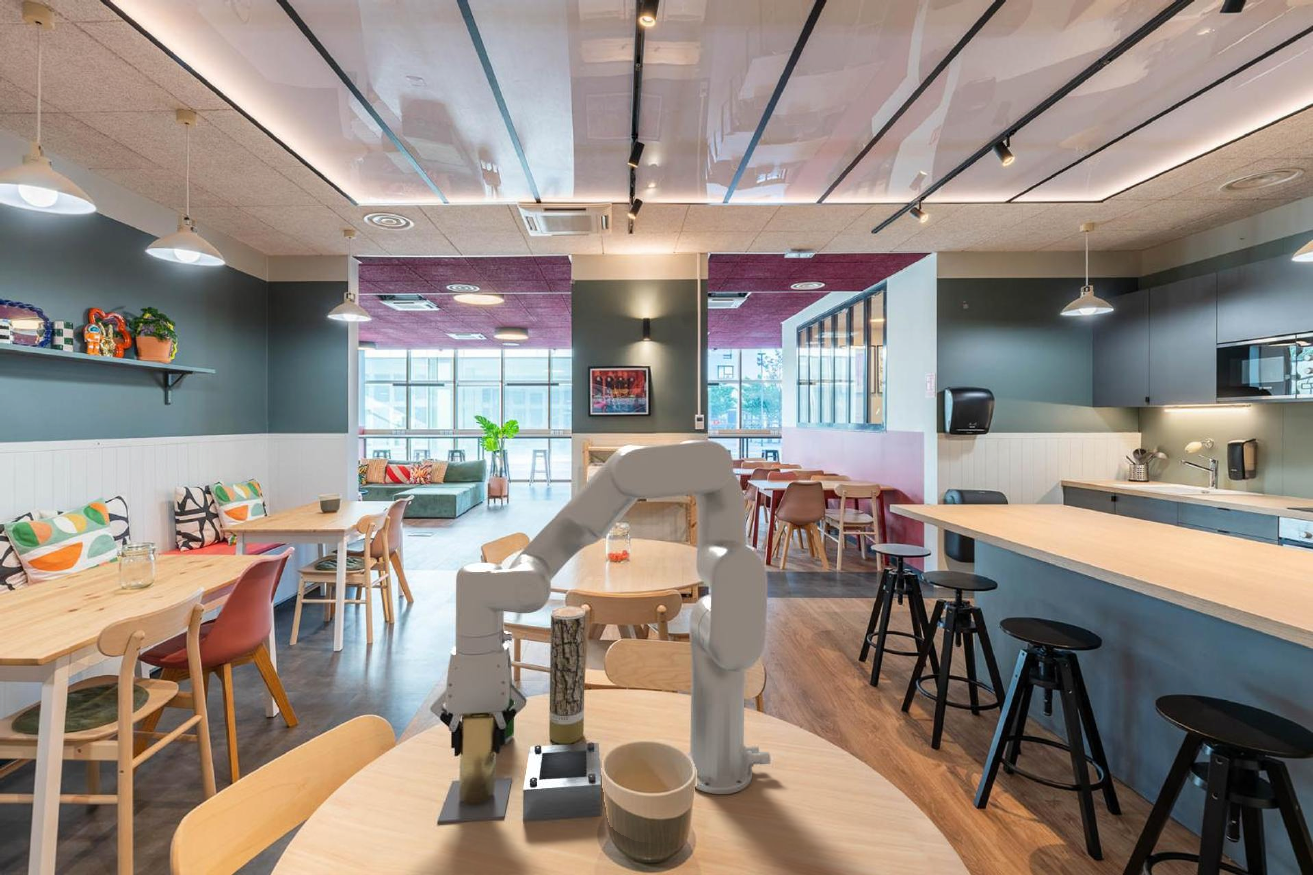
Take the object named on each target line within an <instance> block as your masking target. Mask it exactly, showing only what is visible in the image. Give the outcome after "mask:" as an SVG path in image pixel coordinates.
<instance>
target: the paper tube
mask: <svg viewBox="0 0 1313 875" xmlns="http://www.w3.org/2000/svg"><path fill="white" fill-rule="evenodd" d="M550 613H551V614H550V649H549V650H550V651H549V653H550V655H549V657H550V659H549V661H550V662H549V664H550V665H549V670H550V671H549V717H548V718H549V727H548V728H549V733H548V734H549V738H550V739H551V741H553V743H557V744H558V745H569V744H575V743H576V742H577V741H579V740H580V739H582V737H583V735H584V732H585V731H584V724H585V723H584V722H585V718H584V717H585V677H586V676H585V675H586V674H585V668H586V662H585V661H586V657H585V656H586V609H585V608H583V607H579V606H567V605H566V606H560V607H555V608H554V609H552V610H551V611H550Z"/></svg>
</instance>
